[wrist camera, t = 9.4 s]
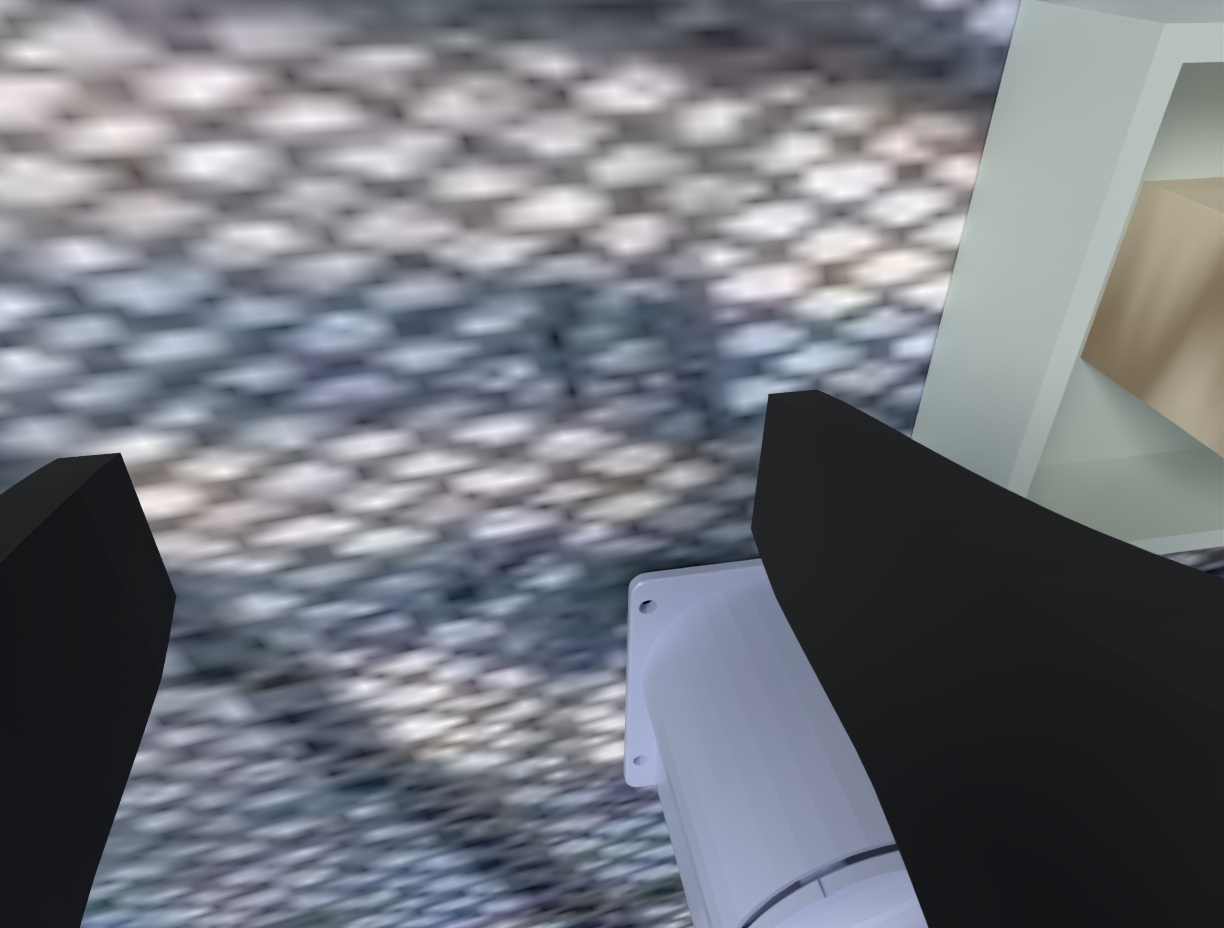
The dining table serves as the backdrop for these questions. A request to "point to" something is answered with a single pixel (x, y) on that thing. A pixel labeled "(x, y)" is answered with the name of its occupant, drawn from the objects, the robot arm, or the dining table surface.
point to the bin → (1078, 268)
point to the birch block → (1169, 307)
